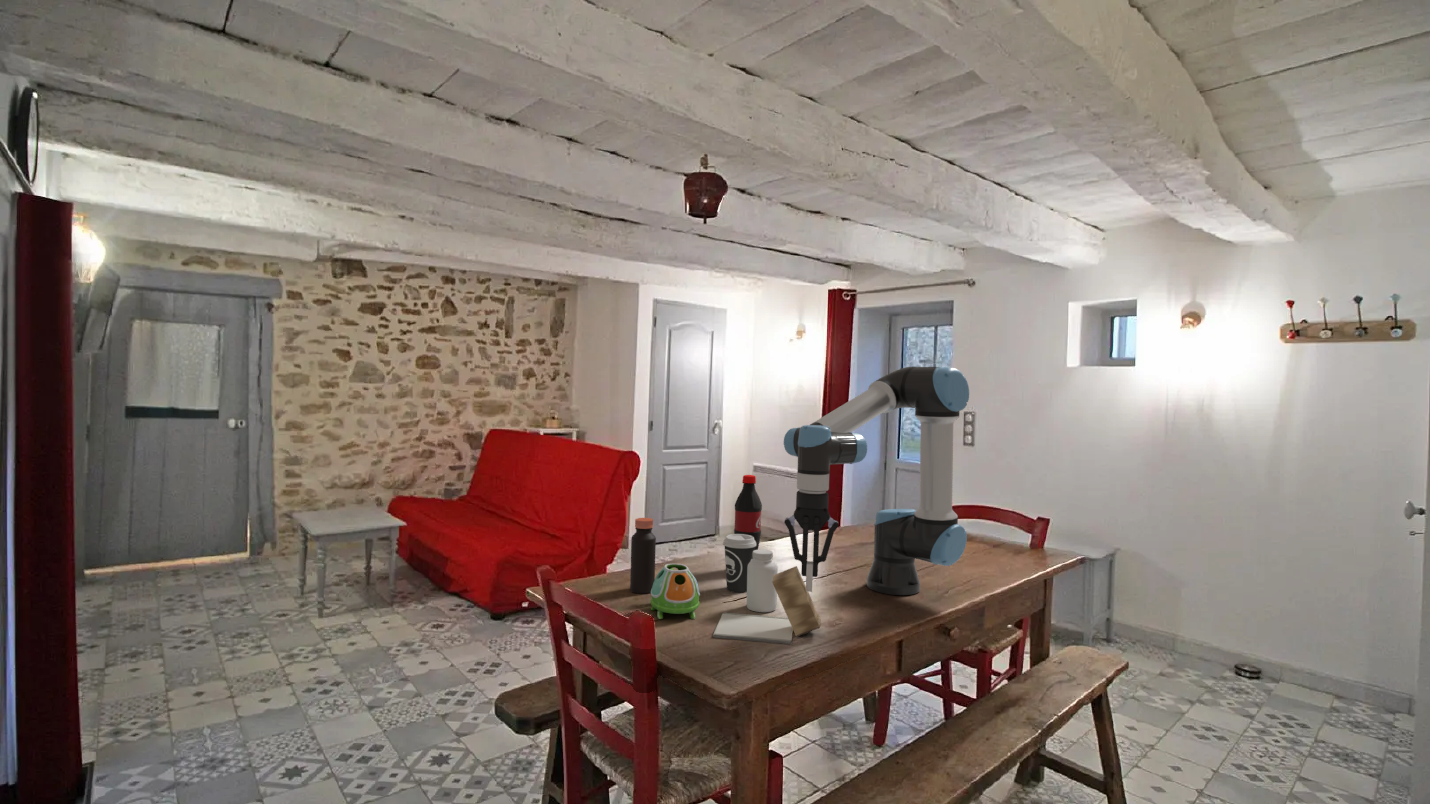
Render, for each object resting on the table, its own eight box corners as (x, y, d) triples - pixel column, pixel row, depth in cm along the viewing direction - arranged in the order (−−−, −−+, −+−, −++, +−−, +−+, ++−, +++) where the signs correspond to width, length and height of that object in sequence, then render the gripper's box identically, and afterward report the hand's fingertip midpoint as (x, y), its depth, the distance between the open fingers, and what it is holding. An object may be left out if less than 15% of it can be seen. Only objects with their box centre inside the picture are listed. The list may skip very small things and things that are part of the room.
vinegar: (659, 590, 203) (661, 519, 202) (641, 595, 198) (643, 522, 197) (643, 585, 207) (645, 515, 206) (625, 590, 202) (626, 518, 201)
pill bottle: (744, 603, 194) (746, 547, 193) (774, 603, 194) (775, 547, 194) (748, 613, 186) (750, 555, 185) (779, 613, 187) (781, 555, 186)
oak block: (820, 619, 175) (796, 565, 175) (820, 627, 169) (795, 572, 169) (797, 628, 176) (774, 575, 176) (796, 636, 170) (772, 581, 170)
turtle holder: (687, 598, 197) (689, 554, 196) (705, 620, 179) (706, 572, 179) (642, 600, 194) (643, 556, 193) (655, 623, 176) (657, 575, 176)
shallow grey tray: (794, 620, 181) (794, 618, 181) (791, 644, 165) (791, 641, 165) (723, 615, 184) (723, 612, 184) (712, 637, 168) (713, 634, 168)
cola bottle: (764, 570, 227) (767, 475, 226) (751, 576, 220) (754, 477, 219) (741, 565, 232) (744, 472, 231) (727, 571, 225) (730, 475, 224)
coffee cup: (752, 595, 201) (754, 541, 200) (718, 592, 202) (720, 539, 202) (757, 586, 210) (759, 534, 209) (724, 583, 212) (726, 532, 211)
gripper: (840, 489, 174) (836, 587, 175) (785, 487, 176) (782, 583, 177) (840, 494, 166) (837, 596, 167) (784, 491, 168) (780, 592, 169)
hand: (808, 589), depth 172 cm, fingers closed
